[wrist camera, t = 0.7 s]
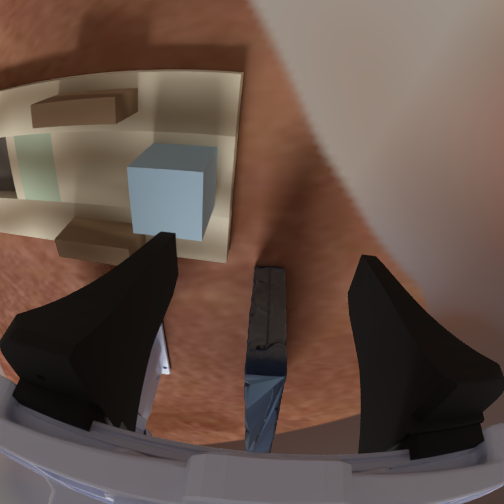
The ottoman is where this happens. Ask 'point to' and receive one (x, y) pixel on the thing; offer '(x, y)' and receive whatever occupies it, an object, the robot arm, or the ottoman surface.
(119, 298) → the robot arm
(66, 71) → the ottoman surface
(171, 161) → the blue block
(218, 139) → the cream flat tray
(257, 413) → the vhs cassette tape
